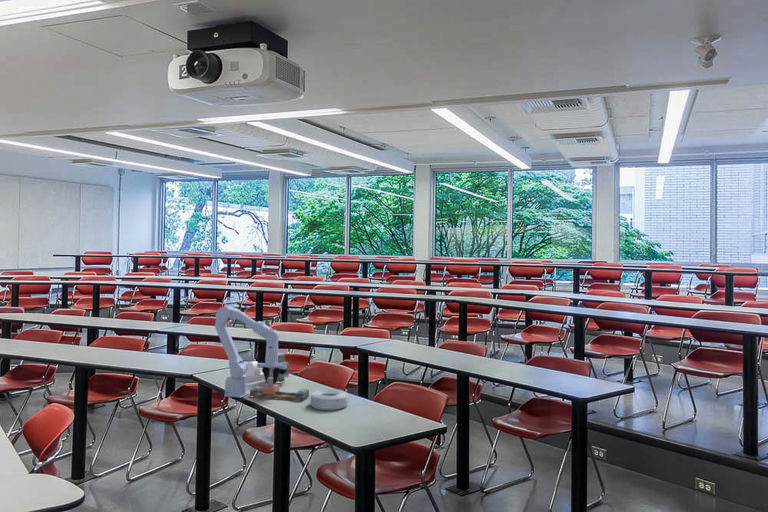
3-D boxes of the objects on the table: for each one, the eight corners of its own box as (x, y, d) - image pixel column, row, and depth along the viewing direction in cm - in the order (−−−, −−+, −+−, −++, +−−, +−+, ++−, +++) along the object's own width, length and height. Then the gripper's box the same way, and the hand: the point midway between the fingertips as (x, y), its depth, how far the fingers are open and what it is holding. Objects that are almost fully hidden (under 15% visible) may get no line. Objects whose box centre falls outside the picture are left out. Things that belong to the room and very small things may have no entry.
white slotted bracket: (271, 379, 303) (272, 360, 303) (242, 383, 290) (242, 364, 290) (262, 376, 310) (262, 358, 310) (233, 380, 297) (233, 361, 297)
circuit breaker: (277, 386, 285) (278, 357, 285) (264, 381, 296) (265, 353, 296) (290, 384, 290) (290, 356, 290) (277, 379, 301) (277, 352, 301)
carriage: (262, 393, 263) (263, 378, 263) (267, 390, 269) (268, 376, 269) (274, 394, 262) (274, 379, 262) (279, 391, 268) (279, 376, 268)
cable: (342, 399, 263) (342, 387, 263) (353, 409, 247) (353, 396, 247) (306, 402, 257) (306, 389, 257) (315, 412, 241) (315, 399, 241)
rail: (249, 397, 263) (250, 389, 263) (256, 393, 271) (256, 385, 271) (303, 401, 258) (303, 393, 258) (308, 397, 266) (309, 389, 266)
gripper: (289, 354, 268) (288, 382, 268) (261, 352, 271) (260, 380, 271) (283, 357, 261) (283, 385, 261) (255, 355, 264) (254, 383, 264)
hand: (271, 383), depth 265 cm, fingers closed on carriage, 3 cm apart
